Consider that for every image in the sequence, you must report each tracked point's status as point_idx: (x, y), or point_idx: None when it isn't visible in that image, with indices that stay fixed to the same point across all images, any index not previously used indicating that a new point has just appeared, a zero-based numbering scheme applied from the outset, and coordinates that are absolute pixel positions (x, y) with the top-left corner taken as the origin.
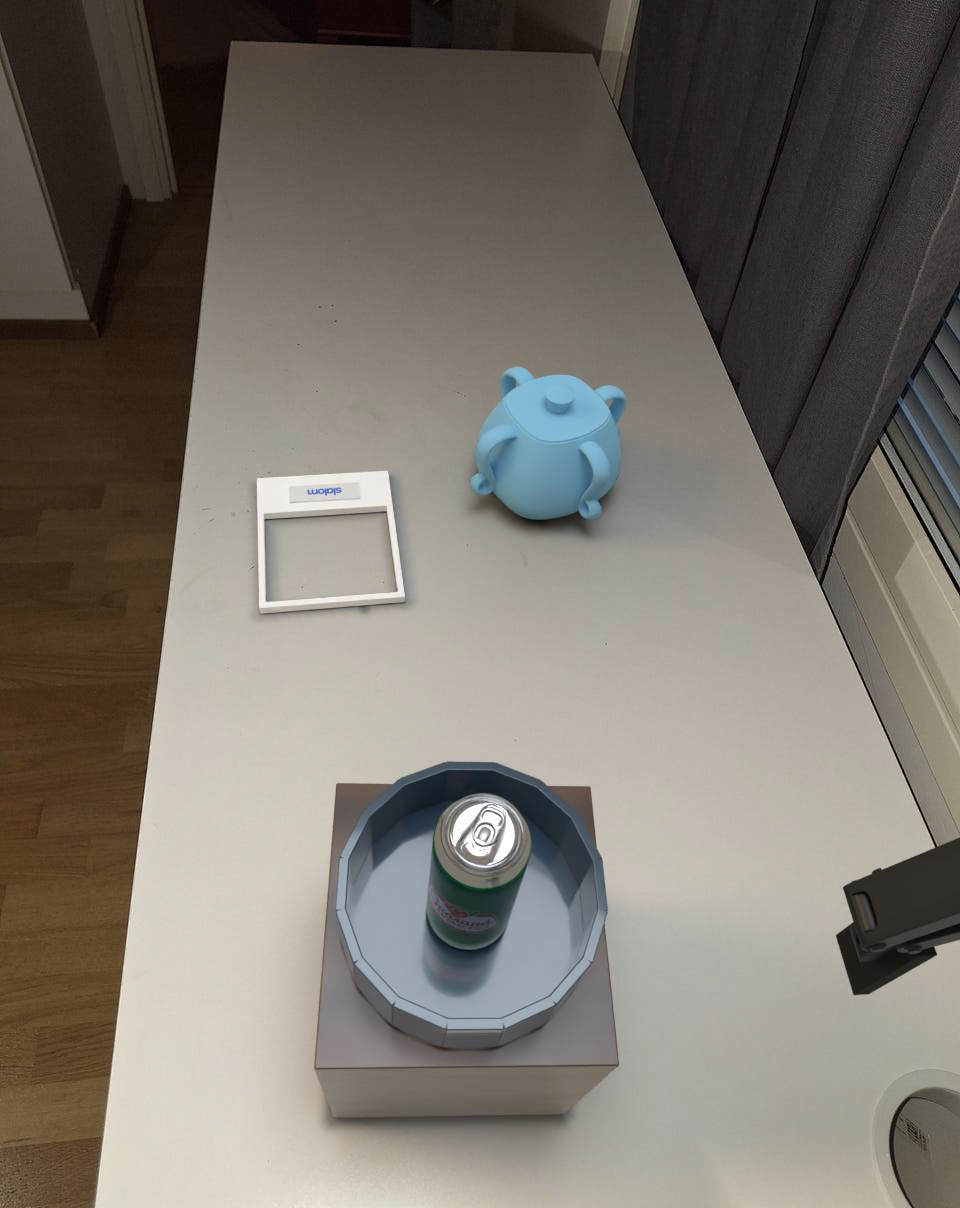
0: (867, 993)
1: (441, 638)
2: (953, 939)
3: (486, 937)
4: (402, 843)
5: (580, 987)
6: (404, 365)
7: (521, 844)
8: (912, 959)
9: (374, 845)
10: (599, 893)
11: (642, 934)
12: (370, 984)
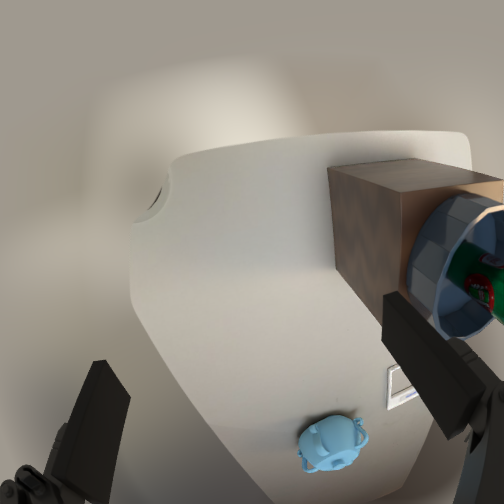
0: (387, 296)
1: (375, 360)
2: (497, 434)
3: (472, 251)
4: None
5: (415, 232)
6: (373, 441)
7: None
8: (476, 375)
9: None
10: (438, 293)
11: (289, 256)
12: None
